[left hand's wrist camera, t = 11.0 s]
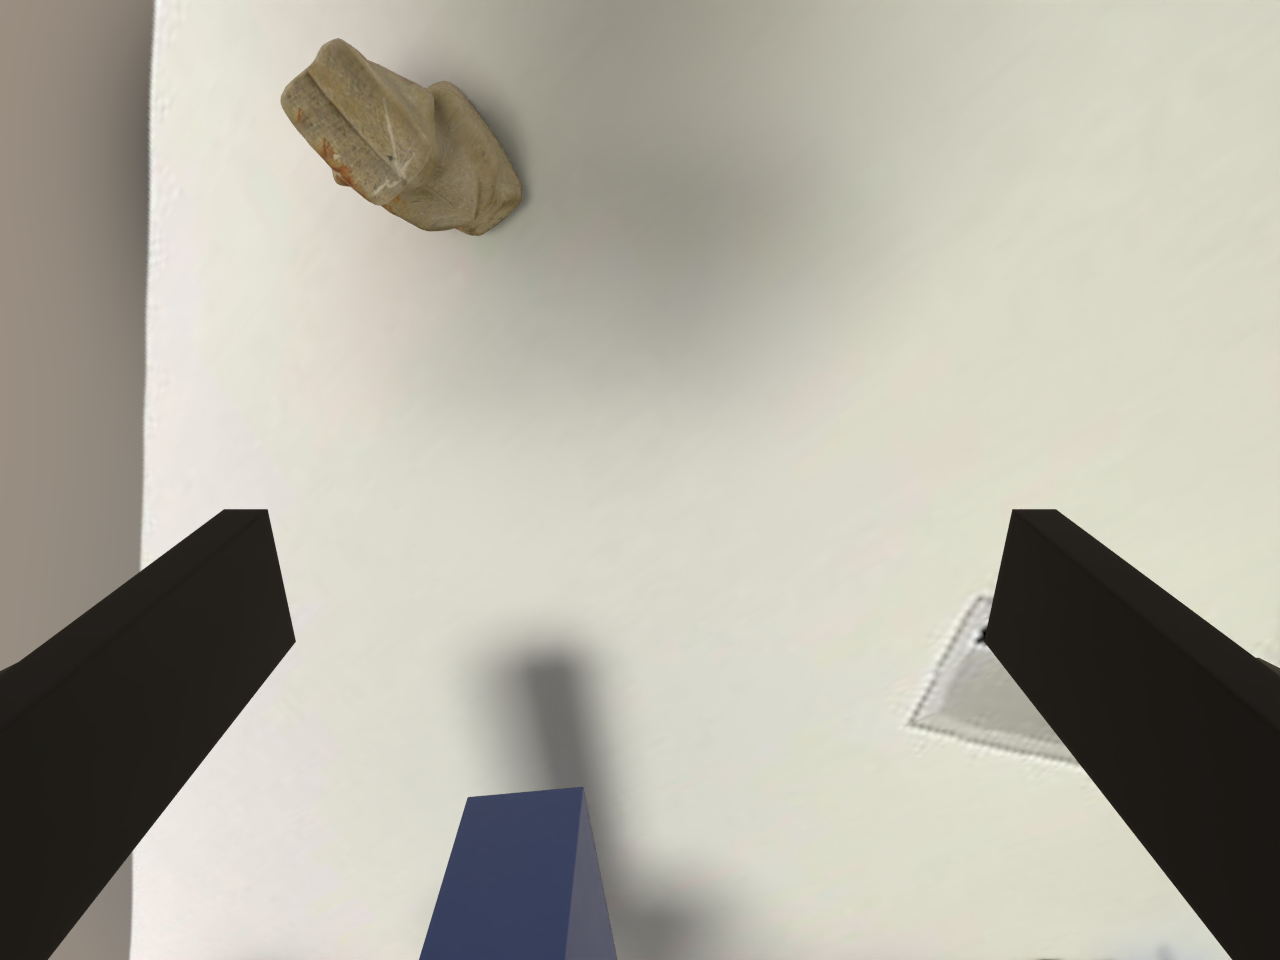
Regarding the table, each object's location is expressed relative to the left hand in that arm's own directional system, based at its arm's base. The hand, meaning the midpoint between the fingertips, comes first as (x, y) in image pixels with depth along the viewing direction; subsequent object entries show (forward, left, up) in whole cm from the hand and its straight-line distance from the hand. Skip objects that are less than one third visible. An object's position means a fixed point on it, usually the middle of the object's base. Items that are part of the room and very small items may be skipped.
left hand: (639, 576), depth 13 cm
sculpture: (-6, -11, -31) cm, 34 cm away
